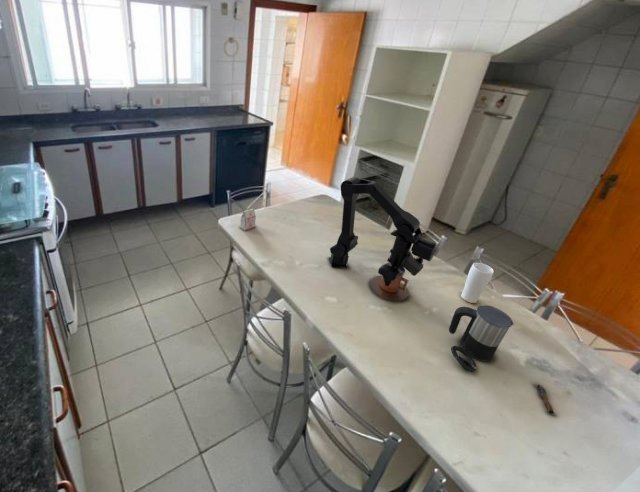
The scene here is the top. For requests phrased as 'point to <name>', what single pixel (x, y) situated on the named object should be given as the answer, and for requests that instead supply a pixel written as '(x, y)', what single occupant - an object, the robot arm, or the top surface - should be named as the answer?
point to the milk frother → (479, 333)
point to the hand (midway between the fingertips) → (390, 281)
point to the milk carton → (248, 219)
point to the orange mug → (395, 282)
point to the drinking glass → (476, 282)
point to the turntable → (384, 294)
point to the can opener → (545, 399)
